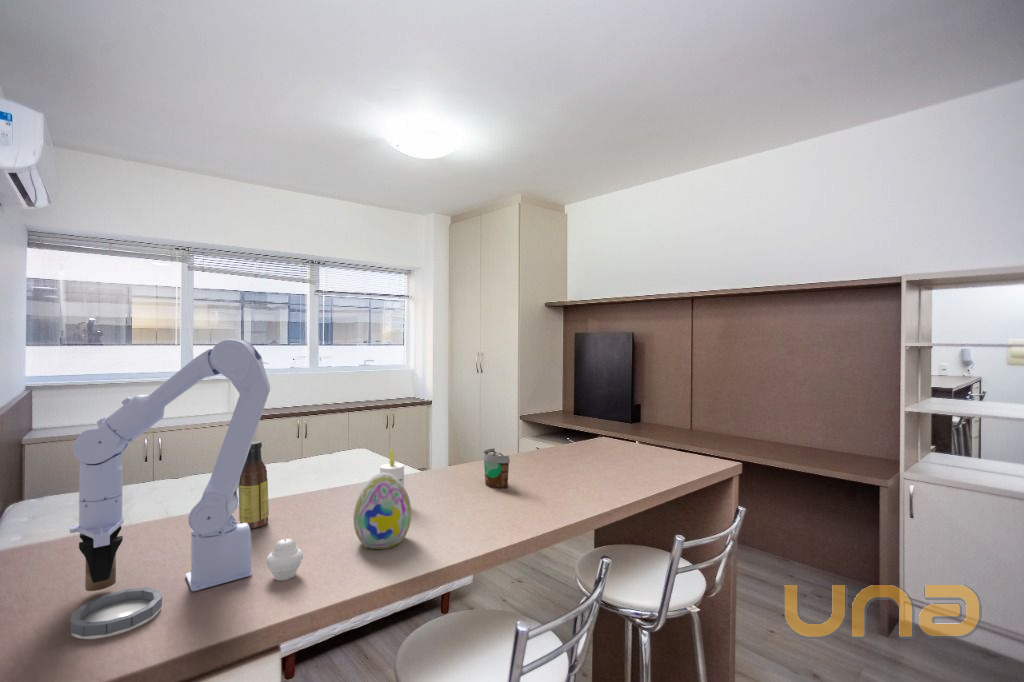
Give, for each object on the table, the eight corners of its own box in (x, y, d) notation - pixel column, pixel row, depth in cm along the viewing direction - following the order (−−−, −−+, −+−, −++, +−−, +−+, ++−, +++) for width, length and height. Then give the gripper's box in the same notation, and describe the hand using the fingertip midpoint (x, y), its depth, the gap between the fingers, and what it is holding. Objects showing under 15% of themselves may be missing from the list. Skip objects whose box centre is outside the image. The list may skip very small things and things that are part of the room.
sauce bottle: (261, 518, 120) (262, 438, 120) (273, 524, 116) (274, 441, 116) (233, 526, 115) (233, 442, 115) (244, 532, 111) (245, 445, 111)
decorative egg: (351, 556, 99) (352, 482, 99) (354, 534, 110) (355, 468, 110) (413, 550, 102) (413, 478, 102) (409, 528, 114) (409, 464, 114)
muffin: (308, 568, 93) (308, 532, 93) (294, 584, 87) (295, 545, 87) (275, 569, 93) (275, 532, 93) (259, 585, 87) (260, 545, 87)
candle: (390, 510, 126) (390, 452, 126) (374, 505, 130) (375, 449, 130) (409, 504, 131) (409, 448, 131) (393, 499, 135) (394, 445, 135)
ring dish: (157, 592, 84) (157, 581, 84) (164, 620, 76) (164, 607, 76) (71, 616, 77) (71, 603, 77) (69, 649, 68) (69, 634, 68)
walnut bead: (115, 577, 86) (115, 543, 86) (116, 585, 83) (116, 550, 83) (85, 584, 84) (85, 549, 84) (85, 593, 81) (85, 557, 81)
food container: (475, 481, 153) (475, 449, 153) (493, 479, 156) (493, 447, 156) (490, 492, 142) (490, 457, 142) (509, 489, 145) (509, 455, 145)
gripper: (71, 491, 87) (70, 567, 87) (68, 512, 76) (67, 600, 76) (122, 484, 91) (121, 556, 91) (126, 503, 80) (125, 585, 80)
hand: (100, 575), depth 84 cm, fingers closed on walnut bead, 4 cm apart
